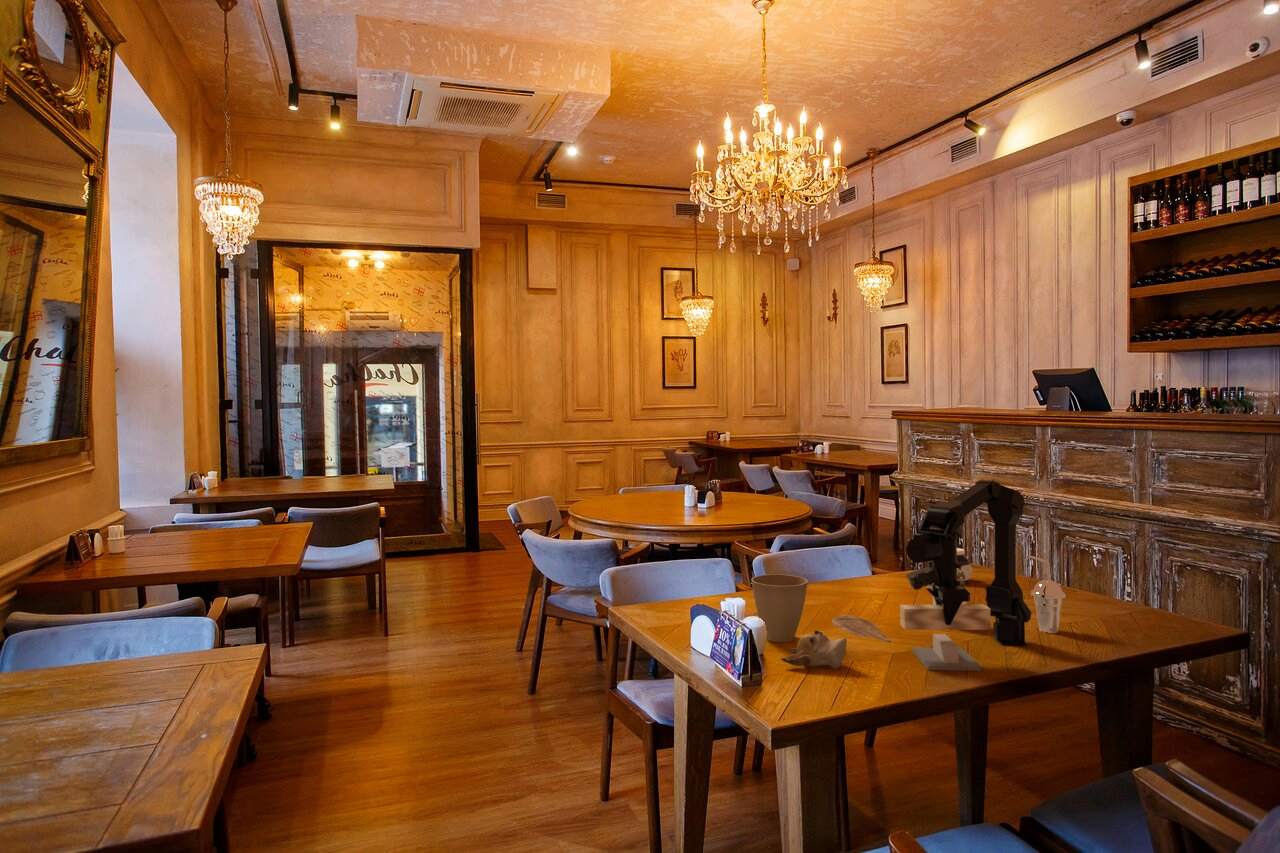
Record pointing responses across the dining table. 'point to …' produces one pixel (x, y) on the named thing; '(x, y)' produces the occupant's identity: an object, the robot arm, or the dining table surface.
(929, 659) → the fulcrum
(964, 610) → the beech bar
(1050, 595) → the cup with straw
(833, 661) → the ceramic sculpture
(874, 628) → the fish fossil
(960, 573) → the spread jar
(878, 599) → the dining table surface
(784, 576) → the plant pot
